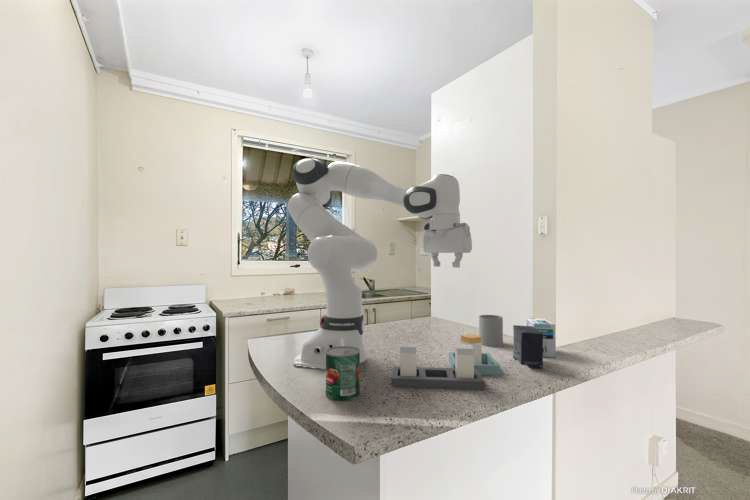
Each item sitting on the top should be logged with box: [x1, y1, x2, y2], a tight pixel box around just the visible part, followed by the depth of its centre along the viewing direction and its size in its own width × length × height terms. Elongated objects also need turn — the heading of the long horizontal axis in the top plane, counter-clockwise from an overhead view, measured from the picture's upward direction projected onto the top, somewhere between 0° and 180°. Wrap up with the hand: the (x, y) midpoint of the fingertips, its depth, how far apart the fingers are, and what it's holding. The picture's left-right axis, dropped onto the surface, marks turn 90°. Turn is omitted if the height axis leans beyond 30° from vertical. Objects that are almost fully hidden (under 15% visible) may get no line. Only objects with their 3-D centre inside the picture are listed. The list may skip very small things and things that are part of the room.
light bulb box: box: [526, 317, 557, 358], centre depth 116 cm, size 11×7×11 cm, turn 168°
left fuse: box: [399, 342, 417, 376], centre depth 88 cm, size 4×4×9 cm
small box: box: [512, 324, 544, 370], centre depth 105 cm, size 11×6×10 cm, turn 171°
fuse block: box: [391, 365, 486, 391], centre depth 87 cm, size 22×9×3 cm, turn 84°
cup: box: [478, 314, 504, 348], centre depth 127 cm, size 8×8×10 cm
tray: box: [448, 351, 501, 376], centre depth 98 cm, size 12×12×4 cm
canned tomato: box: [325, 346, 361, 402], centre depth 79 cm, size 8×8×11 cm
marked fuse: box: [460, 333, 483, 364], centre depth 98 cm, size 4×4×9 cm
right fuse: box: [454, 343, 474, 378], centre depth 86 cm, size 4×4×9 cm
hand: (446, 267), depth 111 cm, fingers open, 8 cm apart
